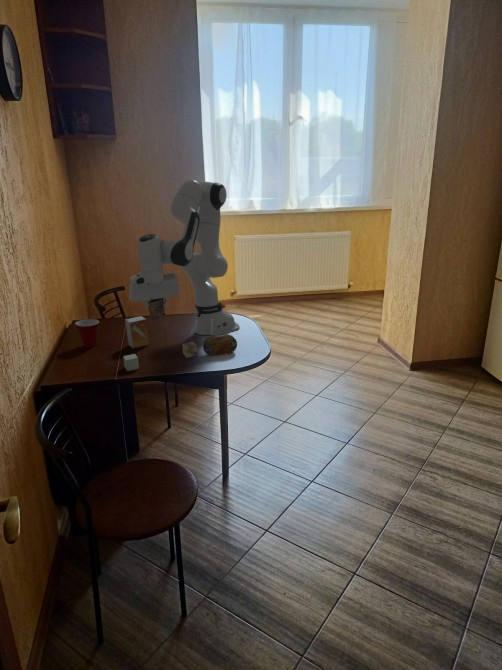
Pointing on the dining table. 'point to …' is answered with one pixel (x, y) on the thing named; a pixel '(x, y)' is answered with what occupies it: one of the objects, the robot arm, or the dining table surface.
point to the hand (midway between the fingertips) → (156, 309)
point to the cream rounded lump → (189, 349)
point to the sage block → (131, 362)
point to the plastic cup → (88, 331)
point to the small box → (137, 332)
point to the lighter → (156, 308)
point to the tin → (219, 345)
